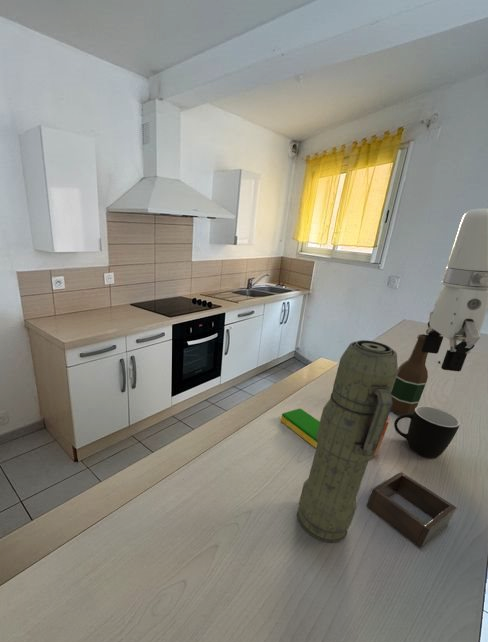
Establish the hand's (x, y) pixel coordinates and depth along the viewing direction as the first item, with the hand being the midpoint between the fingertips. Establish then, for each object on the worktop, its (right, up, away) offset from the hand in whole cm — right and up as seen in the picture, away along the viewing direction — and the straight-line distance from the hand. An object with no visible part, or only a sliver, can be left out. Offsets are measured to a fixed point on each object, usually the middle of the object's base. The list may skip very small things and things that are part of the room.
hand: (439, 360), depth 68 cm
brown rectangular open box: (-11, -30, -6) cm, 32 cm away
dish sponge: (-21, -19, +17) cm, 34 cm away
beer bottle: (+11, -16, +30) cm, 36 cm away
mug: (+4, -23, +13) cm, 27 cm away
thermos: (-28, -30, -8) cm, 42 cm away
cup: (-10, -22, +12) cm, 27 cm away
